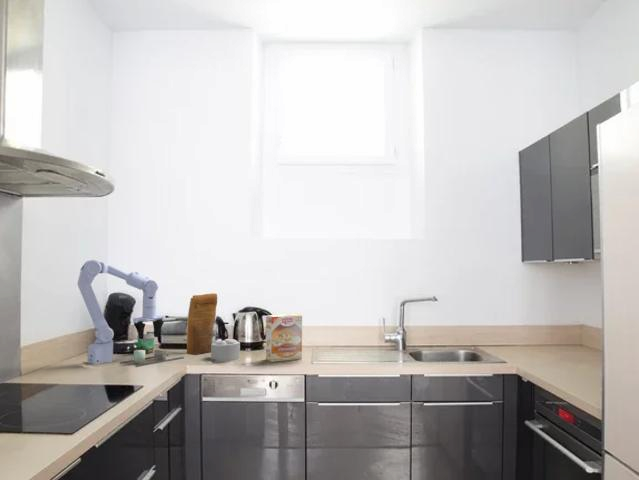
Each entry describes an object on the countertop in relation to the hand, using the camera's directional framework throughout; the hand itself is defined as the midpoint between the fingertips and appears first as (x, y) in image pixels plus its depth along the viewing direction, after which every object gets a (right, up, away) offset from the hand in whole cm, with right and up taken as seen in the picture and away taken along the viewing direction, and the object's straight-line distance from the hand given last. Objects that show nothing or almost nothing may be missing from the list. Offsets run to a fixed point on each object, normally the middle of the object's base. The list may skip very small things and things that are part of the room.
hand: (148, 337), depth 221 cm
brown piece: (+3, -9, -11) cm, 15 cm away
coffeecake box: (+60, -10, 0) cm, 61 cm away
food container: (-4, -10, +11) cm, 16 cm away
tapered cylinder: (+1, -8, -14) cm, 16 cm away
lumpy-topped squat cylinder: (+34, -10, 0) cm, 35 cm away
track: (+5, -9, -9) cm, 14 cm away
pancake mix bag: (+20, -11, +16) cm, 27 cm away
